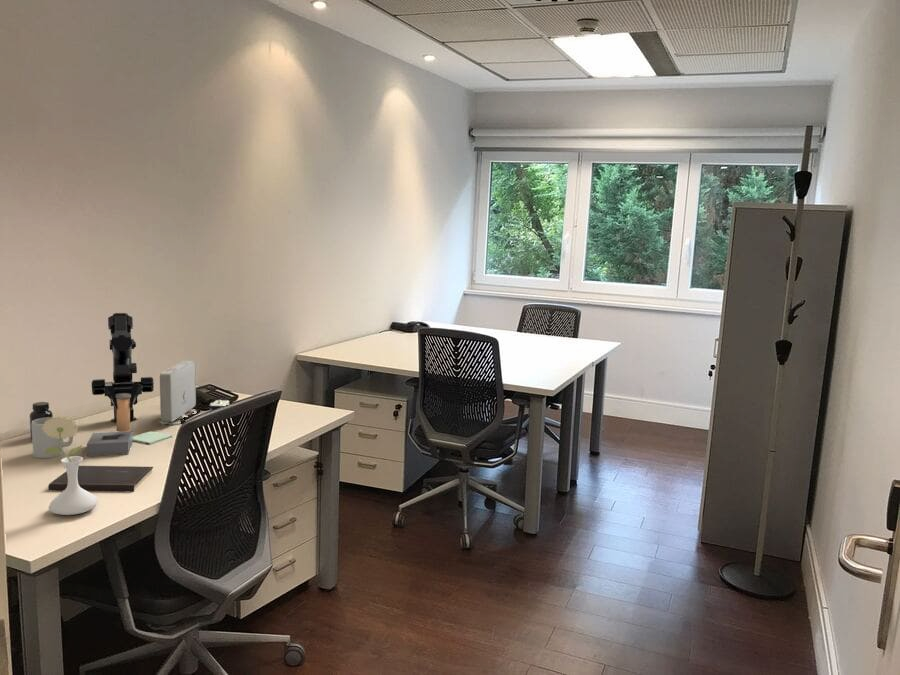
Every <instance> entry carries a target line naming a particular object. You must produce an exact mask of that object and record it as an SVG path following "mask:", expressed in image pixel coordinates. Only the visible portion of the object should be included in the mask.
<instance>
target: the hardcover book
mask: <svg viewBox="0 0 900 675" xmlns="http://www.w3.org/2000/svg"><path fill="white" fill-rule="evenodd" d="M153 468H154V466H131V465H130V466H129V465H126V466H124V465H123V466H122V465H79V467H78V474H77V479H78V484H79V486H80V487H81V488H82V489H84V490H86V491H88V492H126V491H130V492H135V490H136V489H137V488H138V487H139V486H140V485H141V484H142V483H143V482H145V481H146V479H147V478H149V476H151V474H152V473H153ZM67 485H68V476H67V471H65V472H63V473H62V474H60V475H59V476H58V477H57V478H55V479H54V480H53V481H51V482H50V483H49V484H48V491H49V490H56V491H58V492H59V491H60V492H61V491H62V490H65V489H66V488H67ZM62 492H63V491H62ZM130 492H129V493H130Z"/></svg>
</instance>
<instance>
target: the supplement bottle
mask: <svg viewBox="0 0 900 675" xmlns="http://www.w3.org/2000/svg"><path fill="white" fill-rule="evenodd" d="M53 413H54V412H52V410H50V403H49V402H47V401H39V402H34V403H32V411H31V412H30V414H29V432H30V433H29V434H30V439H31V440H32V421H33V420H36V419H39V418H46V417H54V414H53Z"/></svg>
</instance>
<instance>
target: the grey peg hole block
mask: <svg viewBox="0 0 900 675" xmlns="http://www.w3.org/2000/svg"><path fill="white" fill-rule="evenodd" d="M133 437H134V436H133V431H130V430H129V431H125V432H119V431H116V432H115V431H111V432H93V433H92V434H91V436H90V438H89V439H88V441H87V443H86V456H87V457H94V456H95V457H98V456H112V455H114V454H118V455H128V454H127V453H130V451H131V449H132V447H133V444H132V443H133V442H134V441H133ZM130 448H131V449H130ZM114 456H115V455H114Z"/></svg>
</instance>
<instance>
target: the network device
mask: <svg viewBox="0 0 900 675" xmlns="http://www.w3.org/2000/svg"><path fill="white" fill-rule="evenodd" d="M196 376H197V375H196V361H195V360H183V361H181V362H179V363H177V364H175V365H174V366H171V367H169V368H167V369H165V370H164V371H162V372H160V374H159V400H160V402H159V403H160V404H159V405H160V408H159V409H160V420H159V424H160V423H161V424H160V425H164V424H169V425H168V426H170V425H171V426H180V425H181V424H180V423H181V421H178V422H177V421H176V420H184V419H183V418H184V417H188V415H186V414H187V413H191V414H196V413H197V411H196V410H194V409H193V408H194V407H196V405H197V404H196V403H197V391H196V390H197V385H196V383H197V382H196V379H197V378H196ZM191 409H193V410H191ZM192 412H194V413H192ZM197 414H198V413H197ZM197 414H196V415H197ZM174 421H176V422H174Z"/></svg>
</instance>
